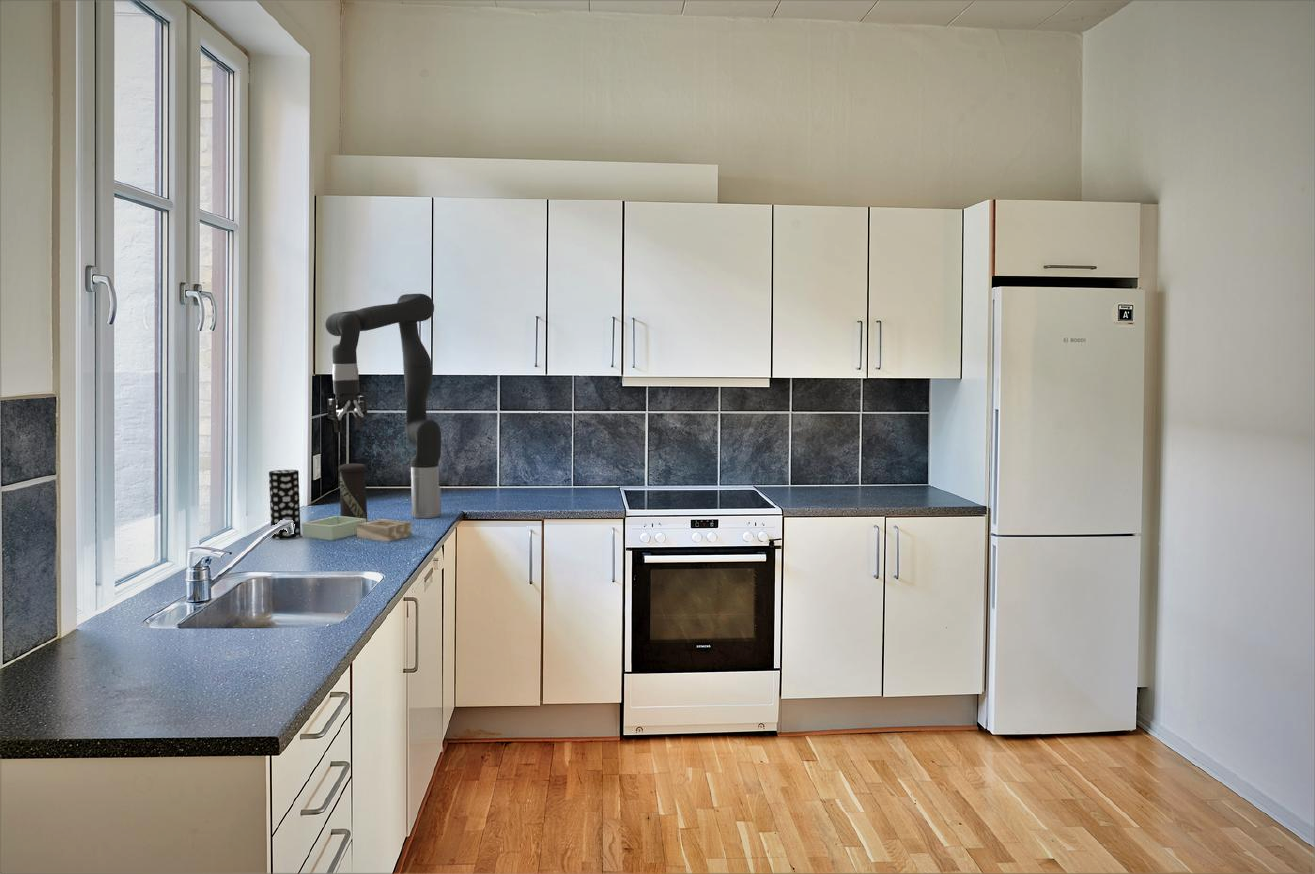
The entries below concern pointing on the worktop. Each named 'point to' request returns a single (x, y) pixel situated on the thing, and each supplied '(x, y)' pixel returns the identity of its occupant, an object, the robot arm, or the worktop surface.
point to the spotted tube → (285, 500)
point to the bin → (331, 527)
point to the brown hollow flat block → (384, 530)
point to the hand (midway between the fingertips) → (348, 430)
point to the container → (353, 490)
